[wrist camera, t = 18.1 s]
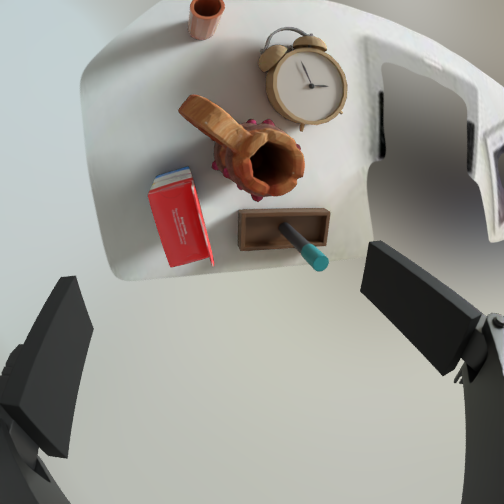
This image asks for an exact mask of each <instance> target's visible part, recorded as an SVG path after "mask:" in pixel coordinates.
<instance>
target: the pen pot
mask: <svg viewBox="0 0 504 504" xmlns="http://www.w3.org/2000/svg"><path fill="white" fill-rule="evenodd" d="M224 9H225V4H224V2H223V0H192V2H191V4H190V11H189V20H188V33H189V34H190V36H191V37H193V38H194V39H198V40H205V39H208V38H210V37H211V36H213V34H214V33H215V31H216V29H217V26H218V24H219V21H220V19H221V16H222V14H223V11H224Z"/></svg>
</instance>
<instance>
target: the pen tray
mask: <svg viewBox="0 0 504 504" xmlns="http://www.w3.org/2000/svg"><path fill="white" fill-rule="evenodd" d="M329 220H330V211H328V210H326V209H325V208H287V209H243V210H239V213H238V247H239V249H240V251H251V250H267V249H284V248H295V247H294V246H293V245H292V244H291V243H290V242H289V241H288V240H287V239H286V238H285V237H284V236H283V235H282V234H281V232H280V231H279V225H280V224H281V223H283V222H287V223H288V224H290V225H291V226H292V227H293V228H294V229H295V230H296V231H297V232H299V233H300V234H301V235H302V236H303V237H304V238H305V239H306V240H307V241H309V242H310V243H311V244H313V245H314V246H315V247H316V246H326V243H327V236H328V228H329Z"/></svg>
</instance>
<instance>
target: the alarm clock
mask: <svg viewBox="0 0 504 504" xmlns="http://www.w3.org/2000/svg"><path fill="white" fill-rule="evenodd" d="M283 30H291V31H295V32H297V33H299V34H301V35H302V36H303V37H299V38H298V39H296V40H295V41H294V43H293V48H294V49H295V50H293V51H292V49H291V48H292V45H290V46H287V48H290V50H291V52H288V53H286V54H285V52H286V51H287V48H286V47H284V46H282V45H274V46H271V47H269V48H268V49H267V47H268V46H269V43H270V40H271V37H272V36H273V35H274V34H275V33H277V32H279V31H283ZM325 51H327V47H326V44H325V43H324V42H323V41H322V40H321V39H319V38H317V37H315V36H313V34H310V35H308V34H306V33H304V32H303V31H301V30H299V29H297V28H294V27H284V28H280V29H278V30H276V31H275V32H273V33H272V34H270V36H269V37H268V39H267V41H266V45H265V47H264V50H263V49H261V50H260V52H261V54H262V55H261V56H260V58H259V67H260V69H261V70H262V71H263V72H266V71H268V73H267V76H266V92H267V96H268V99H269V101H270V103H271V104H272V106H273V107H274V109H275V110H276V111H277V112H278V113H279V114H280V115H282V116H283V117H284V118H285V119H288V120H290V121H293V122H295V123H300V131H302V132H303V129H304V125H305V124H311V125H318V124H322V123H326V122H329V121H330V120H332V119H333V118H335V117H336V116H337V115H338V114H339V113H340V114H342V113H343V112H342V111H341V110H342V109H343V107H344V104H345V101H346V98H347V82H346V78H345V74H344V72H343V70H342V69H341V67H340V65H339V64H338V63H337V62H336V61H335V60H334V59H333V58H332V57H331V56H330V55H329V54H327V53H325Z"/></svg>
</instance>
